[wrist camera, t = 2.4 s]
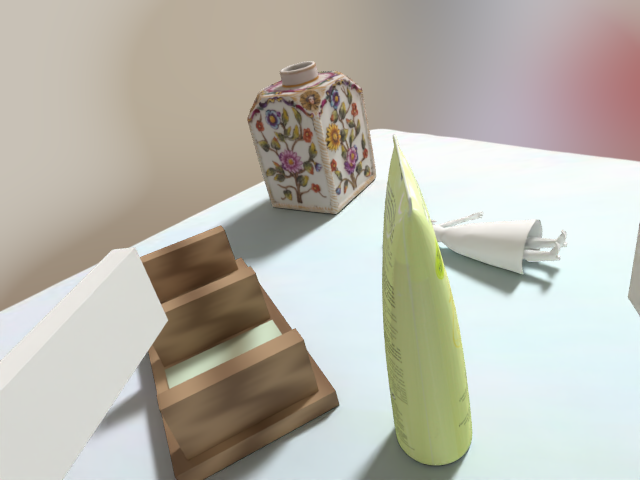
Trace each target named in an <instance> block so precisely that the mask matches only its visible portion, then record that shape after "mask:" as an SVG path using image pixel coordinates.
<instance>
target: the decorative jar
mask: <svg viewBox="0 0 640 480" xmlns="http://www.w3.org/2000/svg"><path fill="white" fill-rule="evenodd" d="M280 75H281V81H279V82H277V83H274V84H272V85H270V86H267V87H266V88H264V89H262V90H261V91H259V93H258V95H257V97H256V99H255V101H254V104H253V106H252V108H251V110H250V113H249V116H248V124H249V128H250V132H251V135H252V138H253V141H254V145H255V149H256V153H257V156H258V160H259V164H260V167H261V171H262V175H263V177H264V181H265V184H266V187H267V191H268V194H269V197H270V200H271V203H272V206H273V207H277V208H286V209H294V210H303V211H311V212H320V213H331V214H337V213H338V212H340V211H341V210H342V209H343V208H344V207H345V206H346V205H347V204H348V203H349V202H350V201H351V200H352V199H354V198H355V197H356V196H357V195H358V194H359V193H360V192H361V191H362V190H363V189H365V188H366V187H367V186H368V185H369V184H370V183H371V182H372V181H373V180H374V179H375V178H376V169H375V162H374V156H373V149H372V143H371V138H370V131H369V126H368V121H367V115H366V110H365V103H364V99H363V92H362V89H361V88H360V87H359V86H358V85H357V84H356V83H354V82H353V81H352V80H351V78H349V77H348V76H345V75H343V74H342V73H341V72H337V71H331V72H317V68H316V65H315V63H314V62H312V61H308V62H302V63H298V64H294V65H291V66H288V67H286V68H284V69H282V70H281V71H280Z"/></svg>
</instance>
